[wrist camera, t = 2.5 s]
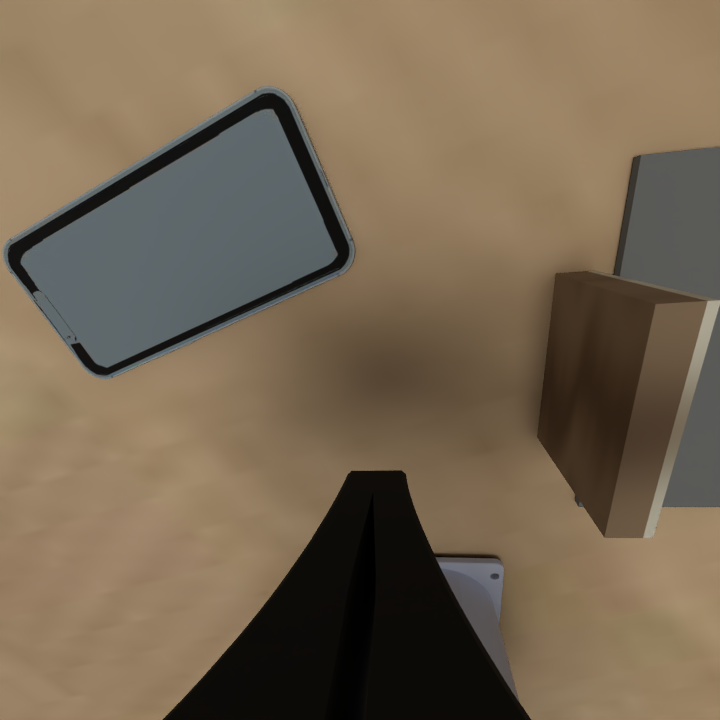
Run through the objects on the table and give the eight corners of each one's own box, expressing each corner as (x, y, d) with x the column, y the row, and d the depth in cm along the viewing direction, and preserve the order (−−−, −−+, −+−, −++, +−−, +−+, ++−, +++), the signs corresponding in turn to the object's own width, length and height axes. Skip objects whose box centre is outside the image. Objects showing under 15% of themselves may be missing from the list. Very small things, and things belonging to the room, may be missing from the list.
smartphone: (363, 266, 15) (96, 385, 18) (364, 263, 16) (110, 378, 19) (280, 72, 12) (-9, 248, 16) (287, 82, 13) (12, 246, 16)
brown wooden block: (568, 435, 17) (652, 538, 12) (536, 436, 17) (604, 537, 12) (593, 270, 14) (721, 299, 9) (555, 273, 14) (655, 303, 9)
